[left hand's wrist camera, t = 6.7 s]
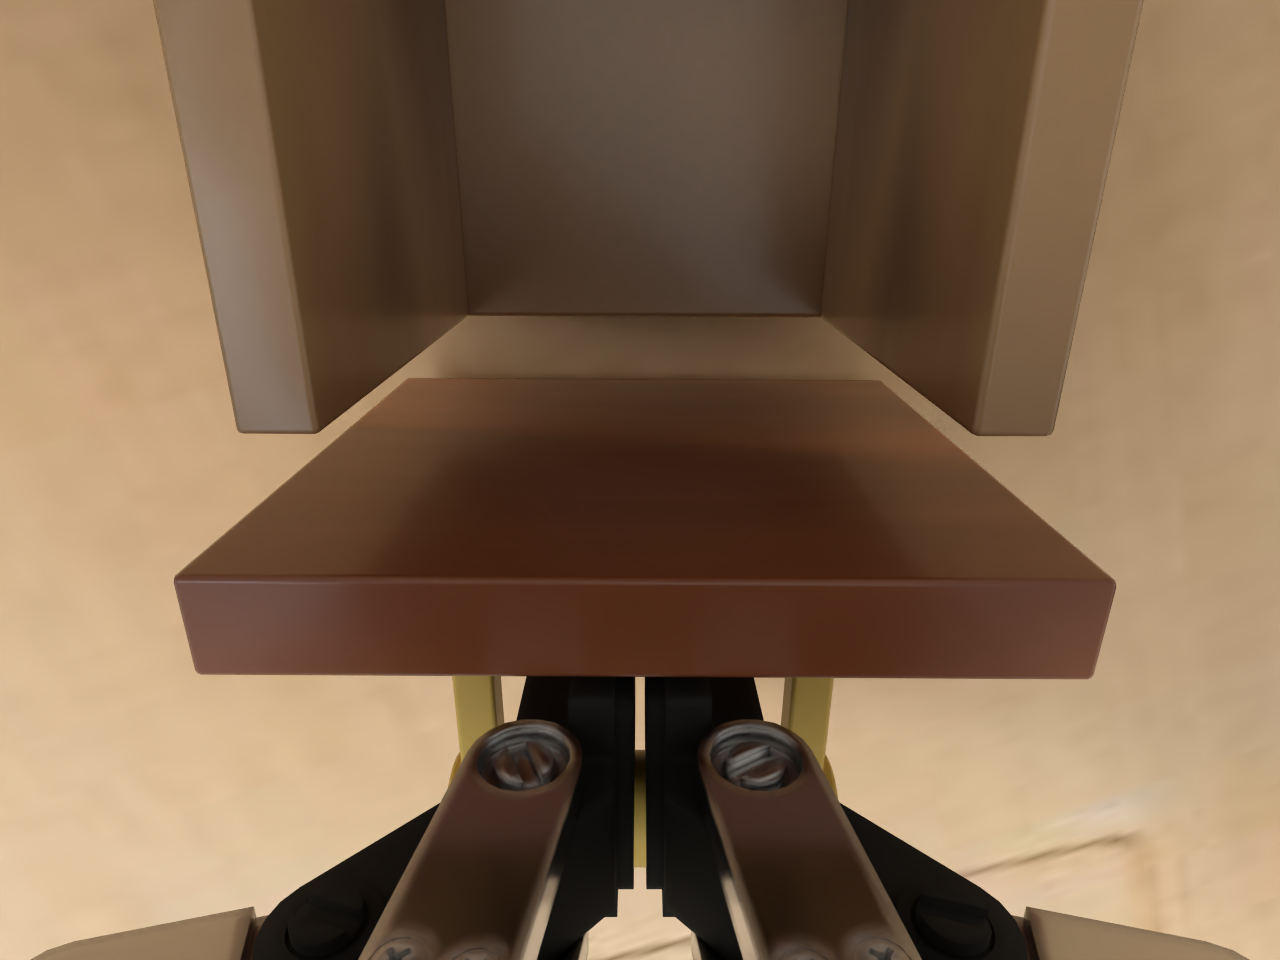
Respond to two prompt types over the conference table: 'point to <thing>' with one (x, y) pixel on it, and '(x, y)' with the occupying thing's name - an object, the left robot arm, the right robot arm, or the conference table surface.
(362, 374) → the drawer
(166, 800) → the conference table surface
